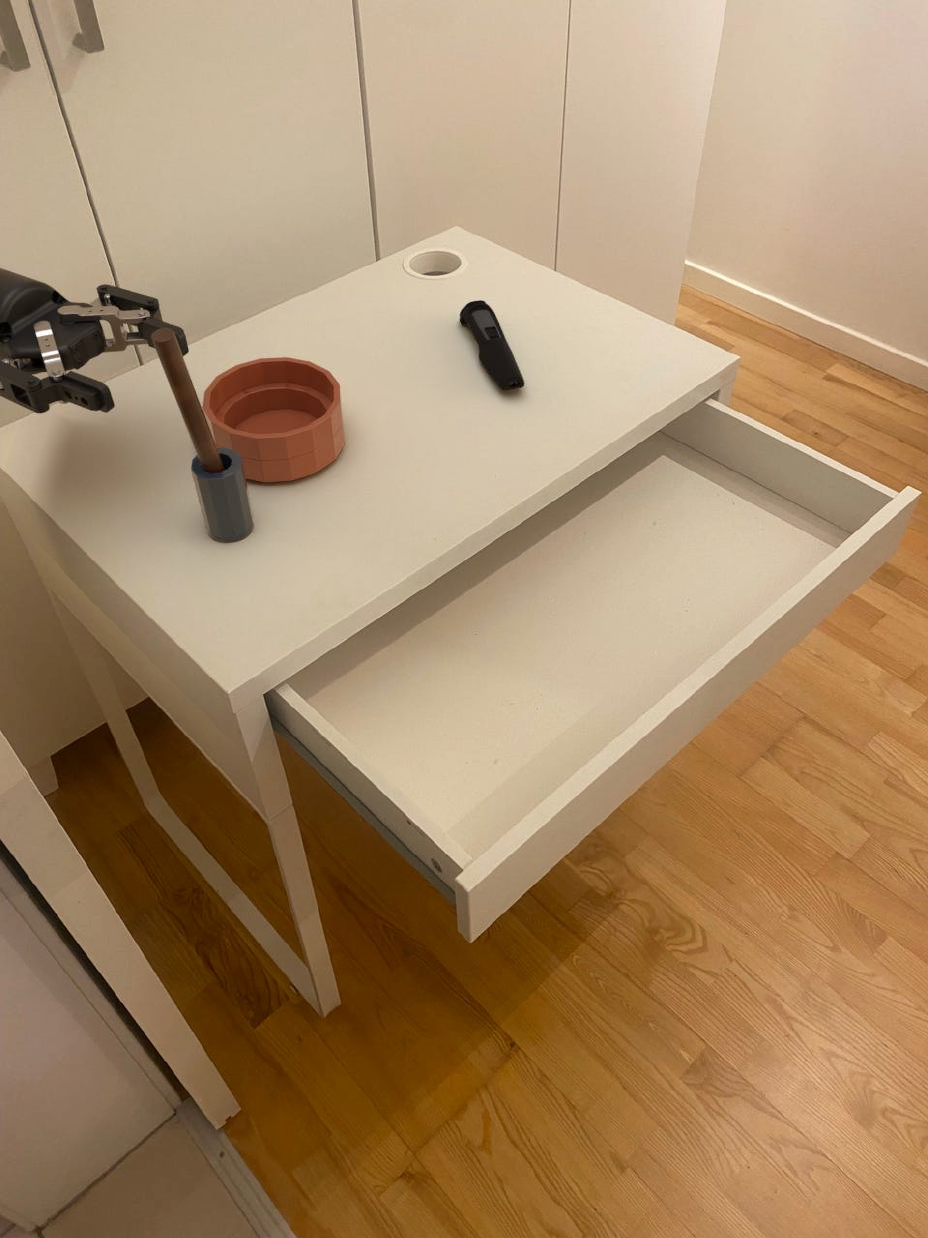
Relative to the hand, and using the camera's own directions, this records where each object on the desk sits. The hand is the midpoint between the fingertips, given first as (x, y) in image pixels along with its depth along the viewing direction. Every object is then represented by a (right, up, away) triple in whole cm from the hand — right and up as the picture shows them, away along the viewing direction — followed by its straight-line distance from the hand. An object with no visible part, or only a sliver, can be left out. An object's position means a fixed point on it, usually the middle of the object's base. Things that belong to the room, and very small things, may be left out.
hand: (148, 371), depth 74 cm
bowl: (+7, -3, +16) cm, 18 cm away
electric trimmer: (+27, +8, +27) cm, 39 cm away
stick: (+4, -11, +9) cm, 14 cm away
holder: (+4, -11, +9) cm, 15 cm away
